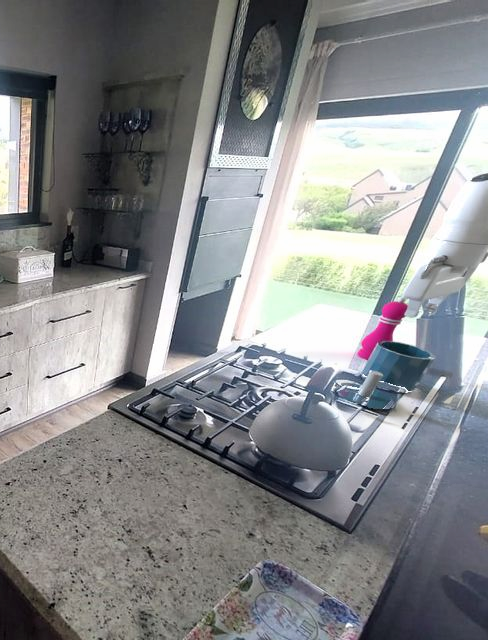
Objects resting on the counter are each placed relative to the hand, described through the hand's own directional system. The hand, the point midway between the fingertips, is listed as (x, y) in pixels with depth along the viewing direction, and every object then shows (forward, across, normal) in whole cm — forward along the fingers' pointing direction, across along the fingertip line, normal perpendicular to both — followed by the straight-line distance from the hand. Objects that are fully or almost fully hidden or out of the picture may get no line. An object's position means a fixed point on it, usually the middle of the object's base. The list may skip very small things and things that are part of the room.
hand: (419, 314), depth 95 cm
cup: (+24, +14, +3) cm, 28 cm away
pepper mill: (+24, +30, +14) cm, 41 cm away
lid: (+23, -2, +1) cm, 23 cm away
